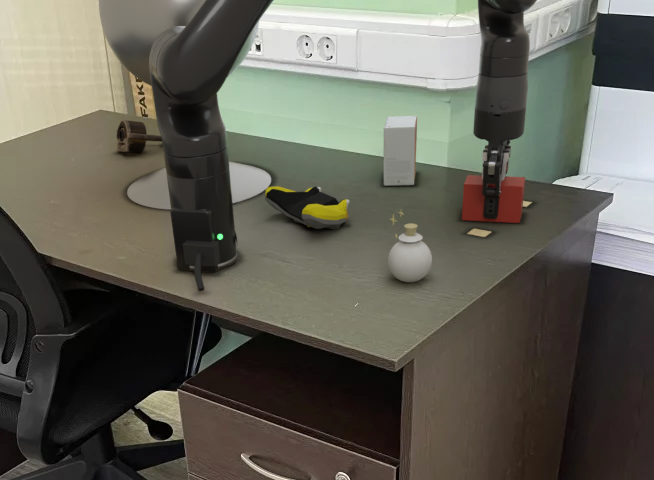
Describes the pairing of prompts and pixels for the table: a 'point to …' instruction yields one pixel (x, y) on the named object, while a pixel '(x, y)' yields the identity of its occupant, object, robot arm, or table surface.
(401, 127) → the small box
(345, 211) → the black yellow shoe-shaped piece
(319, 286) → the table surface
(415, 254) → the white potion bottle
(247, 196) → the desk lamp
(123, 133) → the mechanical counter
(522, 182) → the block
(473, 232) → the edge tape marks
